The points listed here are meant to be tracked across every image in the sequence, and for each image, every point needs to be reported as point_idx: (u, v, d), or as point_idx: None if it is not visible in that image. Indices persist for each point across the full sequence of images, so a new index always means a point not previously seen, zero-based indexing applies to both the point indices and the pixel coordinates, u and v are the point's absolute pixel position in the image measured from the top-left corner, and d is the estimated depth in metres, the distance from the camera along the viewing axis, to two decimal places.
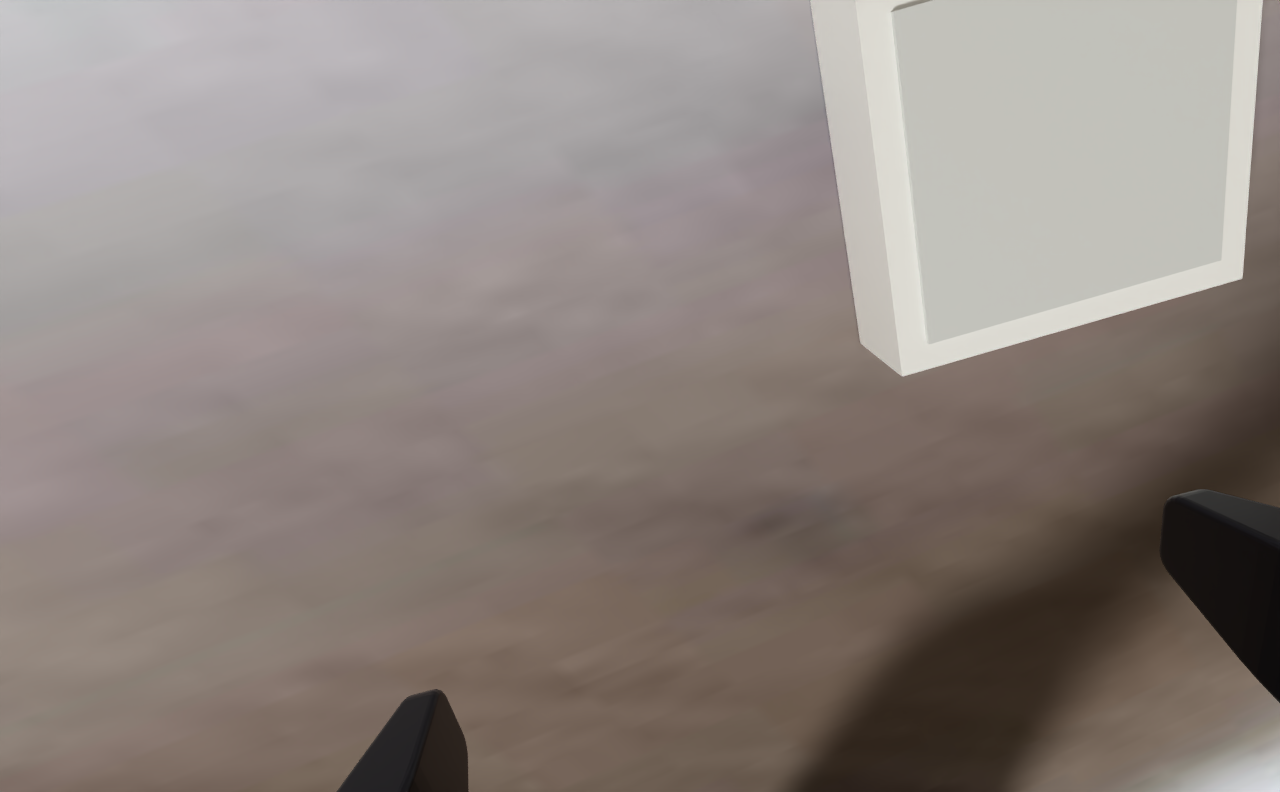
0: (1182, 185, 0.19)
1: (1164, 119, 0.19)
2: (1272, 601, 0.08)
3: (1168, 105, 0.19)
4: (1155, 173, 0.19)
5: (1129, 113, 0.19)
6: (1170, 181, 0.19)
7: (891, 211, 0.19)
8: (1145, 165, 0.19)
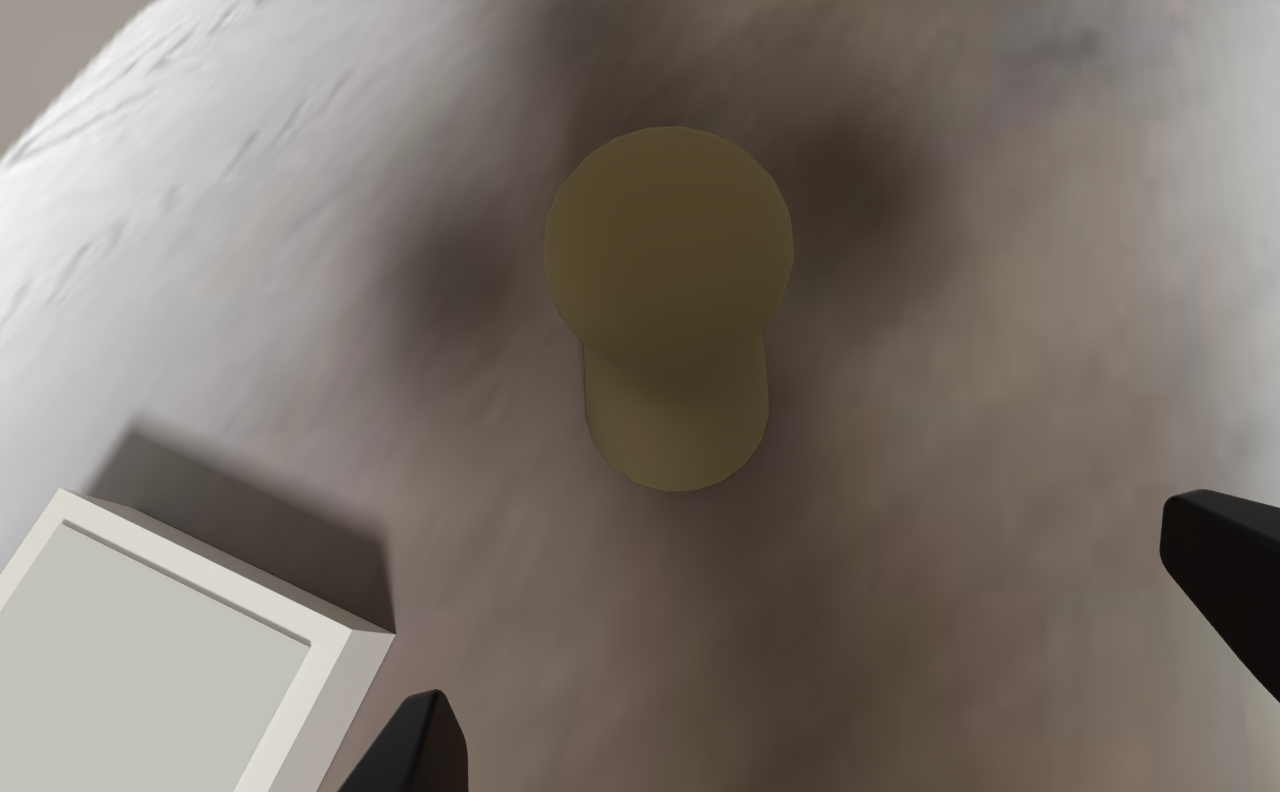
0: (207, 653, 0.19)
1: (140, 645, 0.19)
2: (1272, 601, 0.08)
3: (139, 632, 0.20)
4: (174, 673, 0.19)
5: (106, 673, 0.19)
6: (193, 663, 0.19)
7: None
8: (159, 679, 0.19)
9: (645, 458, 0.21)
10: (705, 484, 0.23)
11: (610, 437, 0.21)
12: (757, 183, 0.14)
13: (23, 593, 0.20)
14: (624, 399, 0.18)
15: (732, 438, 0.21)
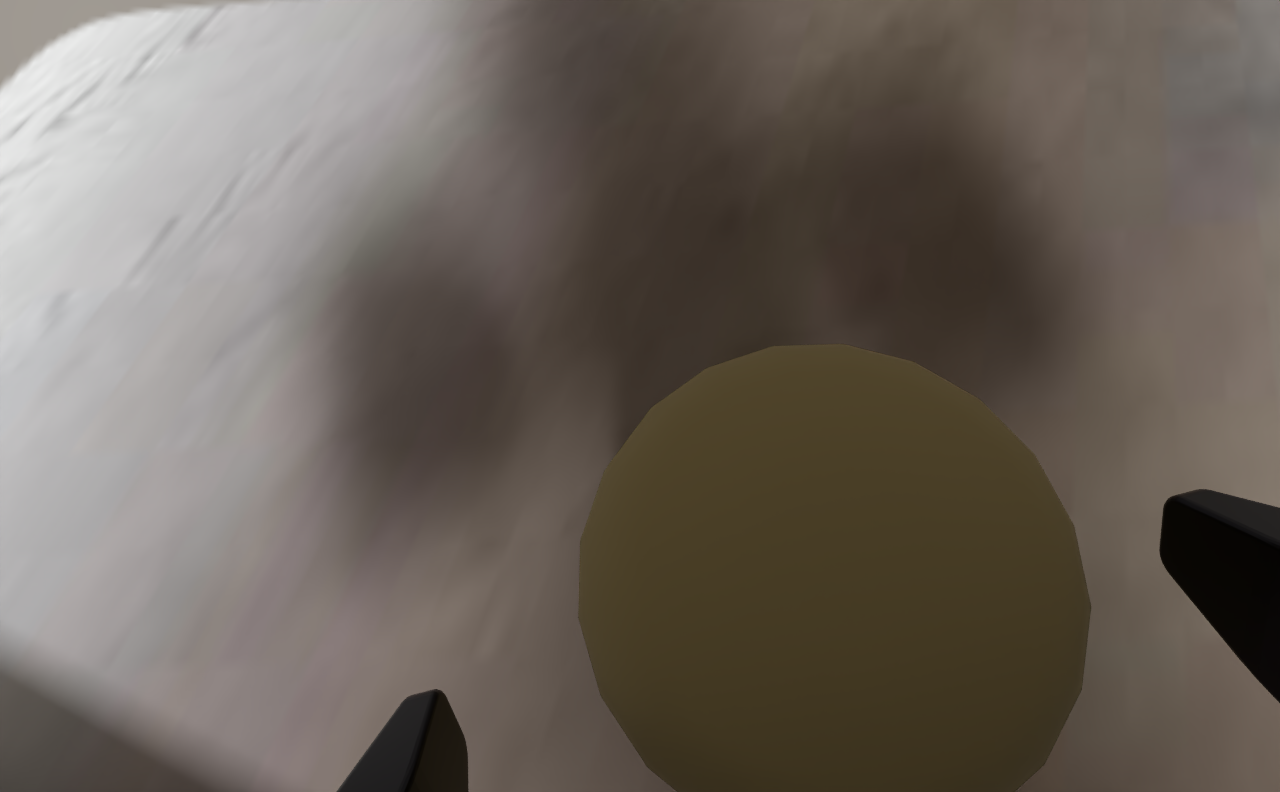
0: None
1: None
2: (1272, 601, 0.08)
3: None
4: None
5: None
6: None
7: None
8: None
9: None
10: None
11: None
12: (1030, 494, 0.07)
13: None
14: None
15: None
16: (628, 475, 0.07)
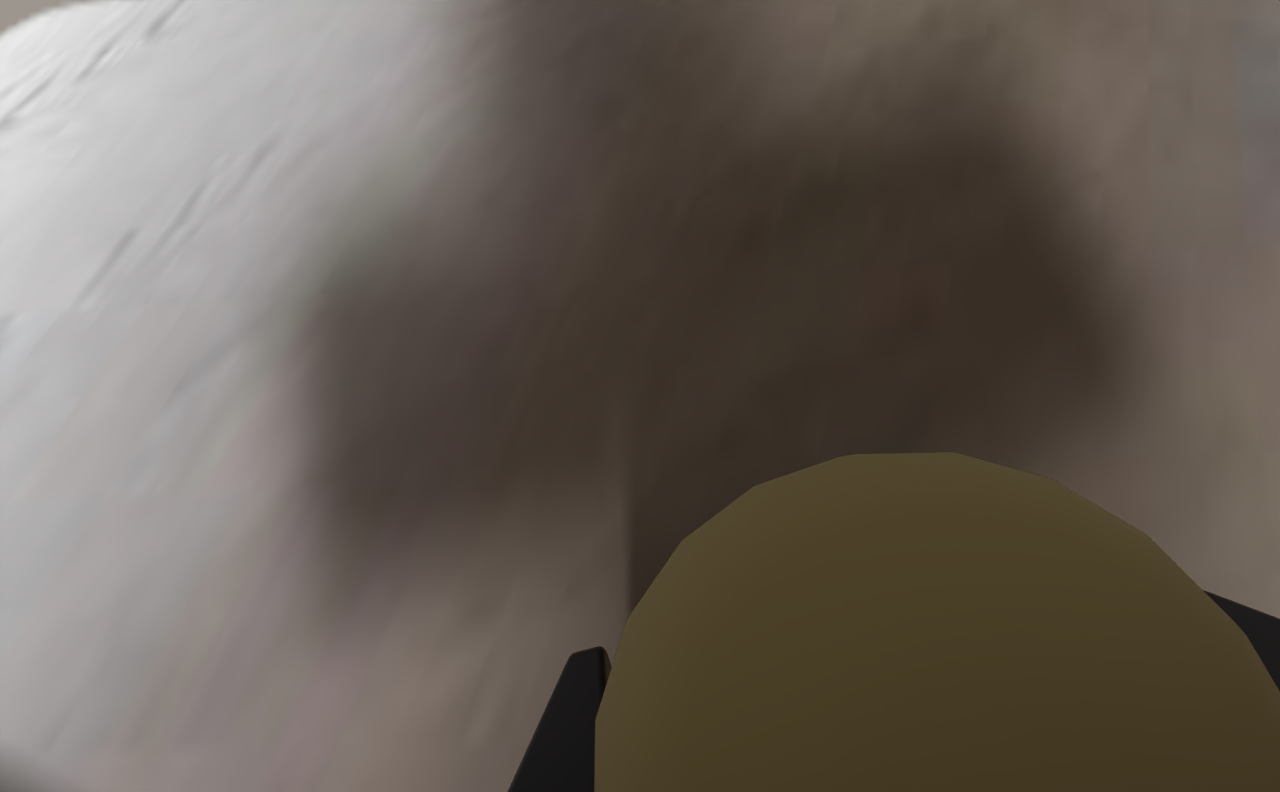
0: None
1: None
2: None
3: None
4: None
5: None
6: None
7: None
8: None
9: None
10: None
11: None
12: (1257, 706, 0.05)
13: None
14: None
15: None
16: (665, 657, 0.05)
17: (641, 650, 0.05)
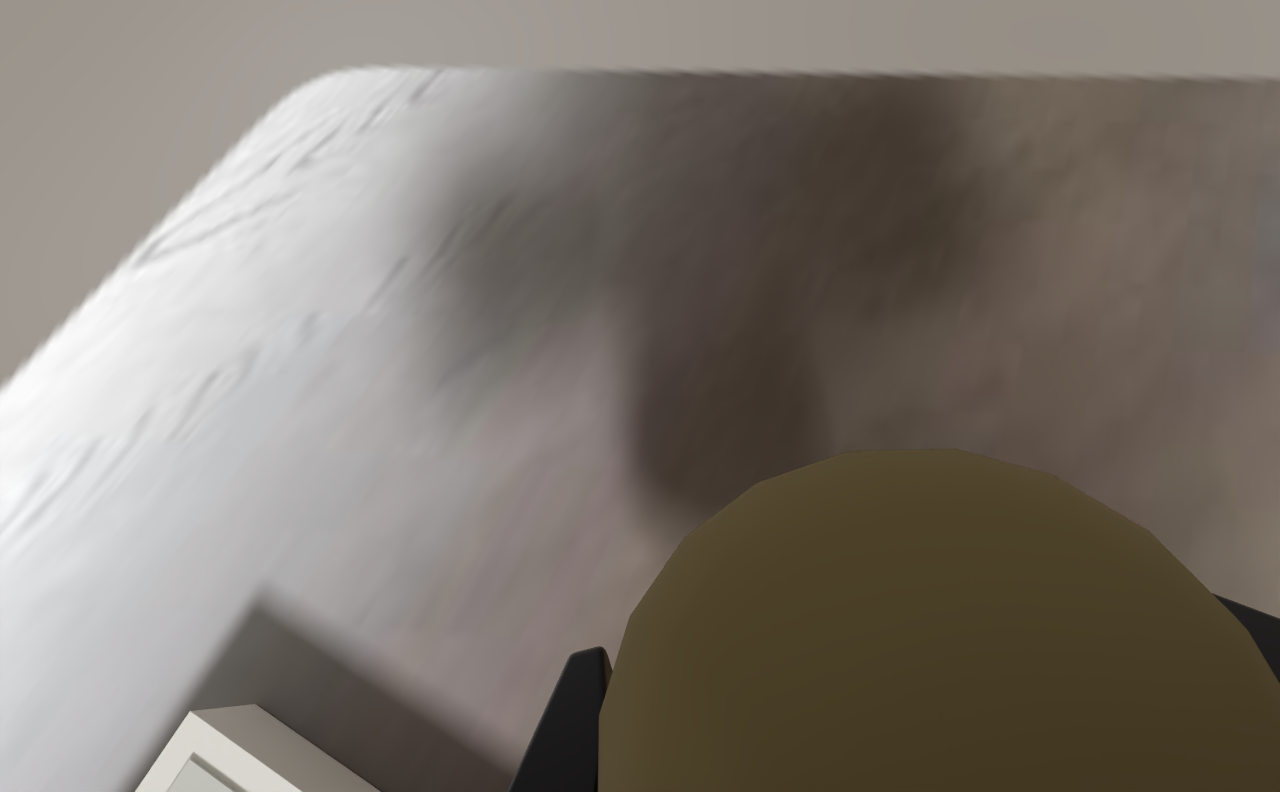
0: None
1: None
2: None
3: None
4: None
5: None
6: None
7: None
8: None
9: None
10: None
11: None
12: (1259, 700, 0.05)
13: None
14: None
15: None
16: (669, 652, 0.05)
17: (644, 645, 0.05)
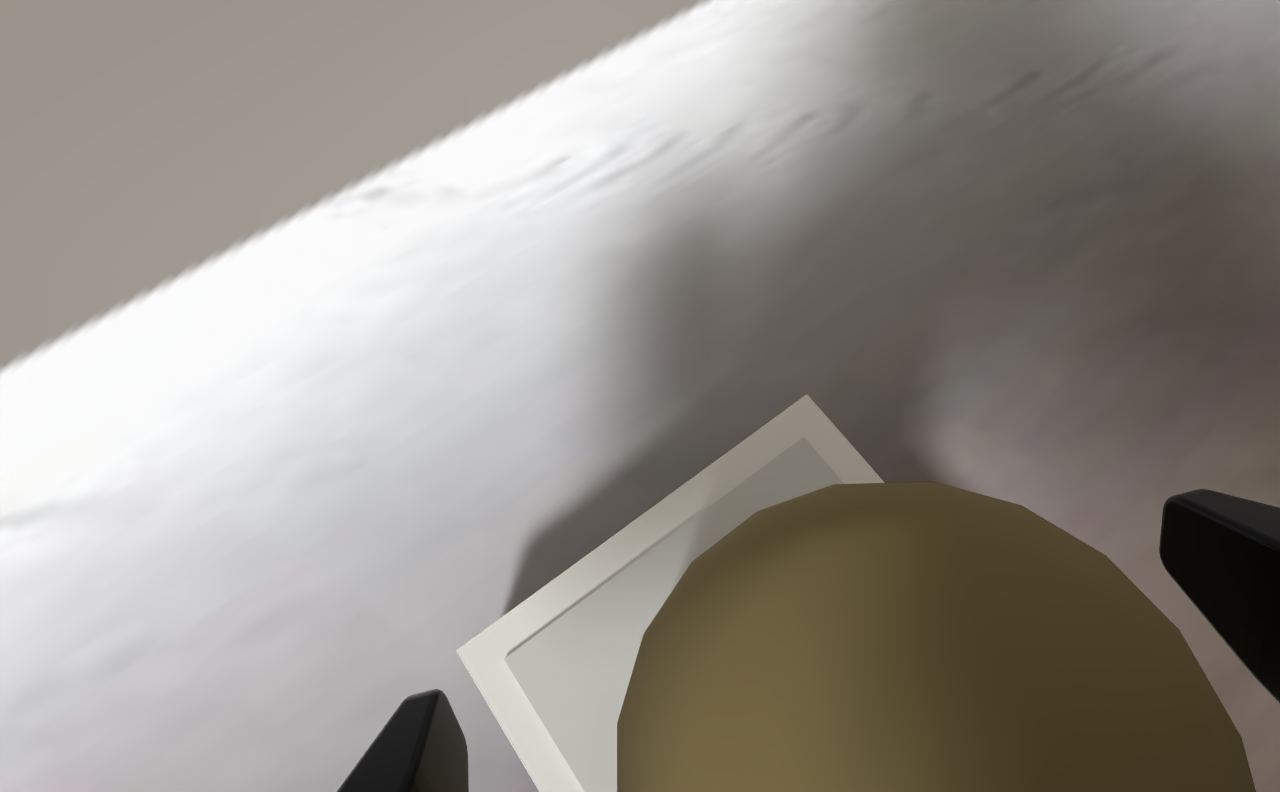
0: None
1: None
2: (1272, 601, 0.08)
3: None
4: None
5: None
6: None
7: None
8: None
9: None
10: None
11: None
12: (1195, 706, 0.05)
13: (745, 495, 0.17)
14: None
15: None
16: (681, 668, 0.06)
17: (659, 661, 0.06)
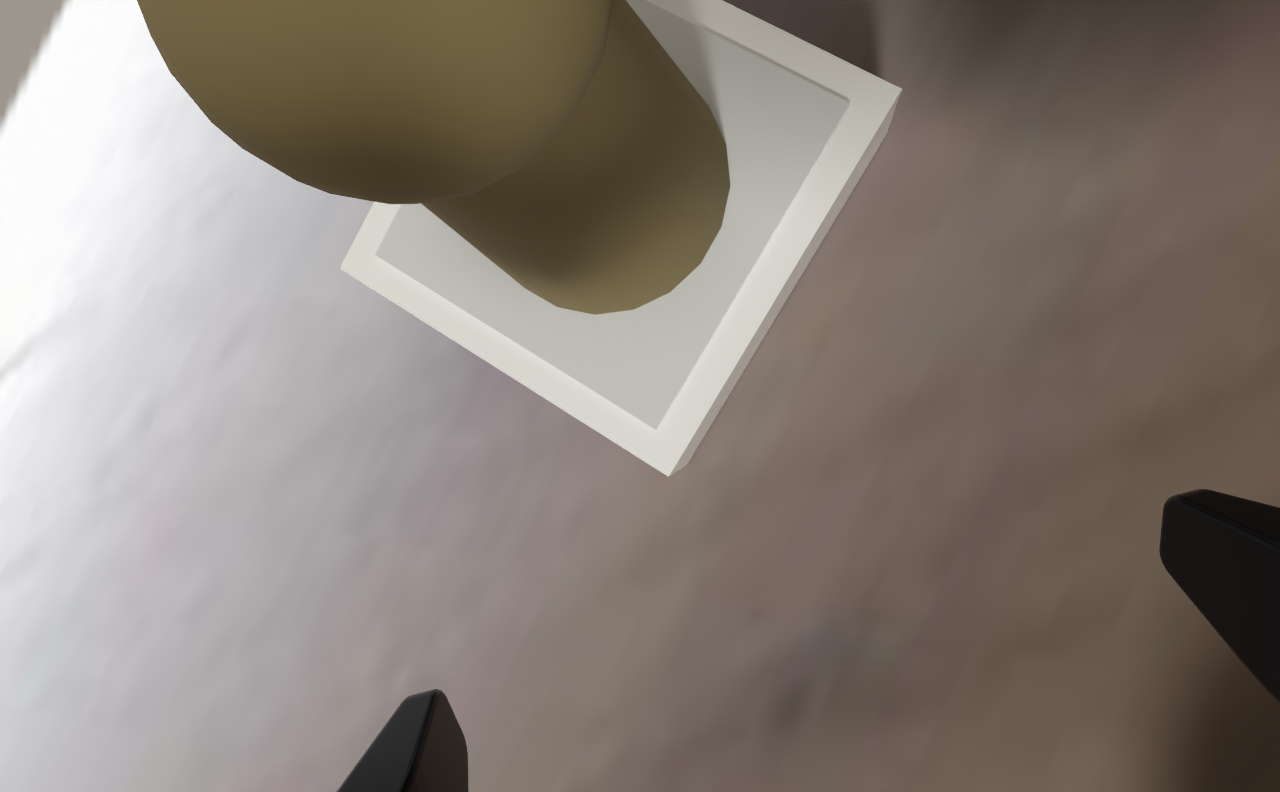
0: (727, 104, 0.17)
1: None
2: (1272, 601, 0.08)
3: None
4: None
5: None
6: None
7: (513, 366, 0.18)
8: None
9: (581, 286, 0.15)
10: (680, 278, 0.17)
11: (525, 280, 0.15)
12: None
13: None
14: (490, 233, 0.12)
15: (680, 208, 0.14)
16: None
17: None
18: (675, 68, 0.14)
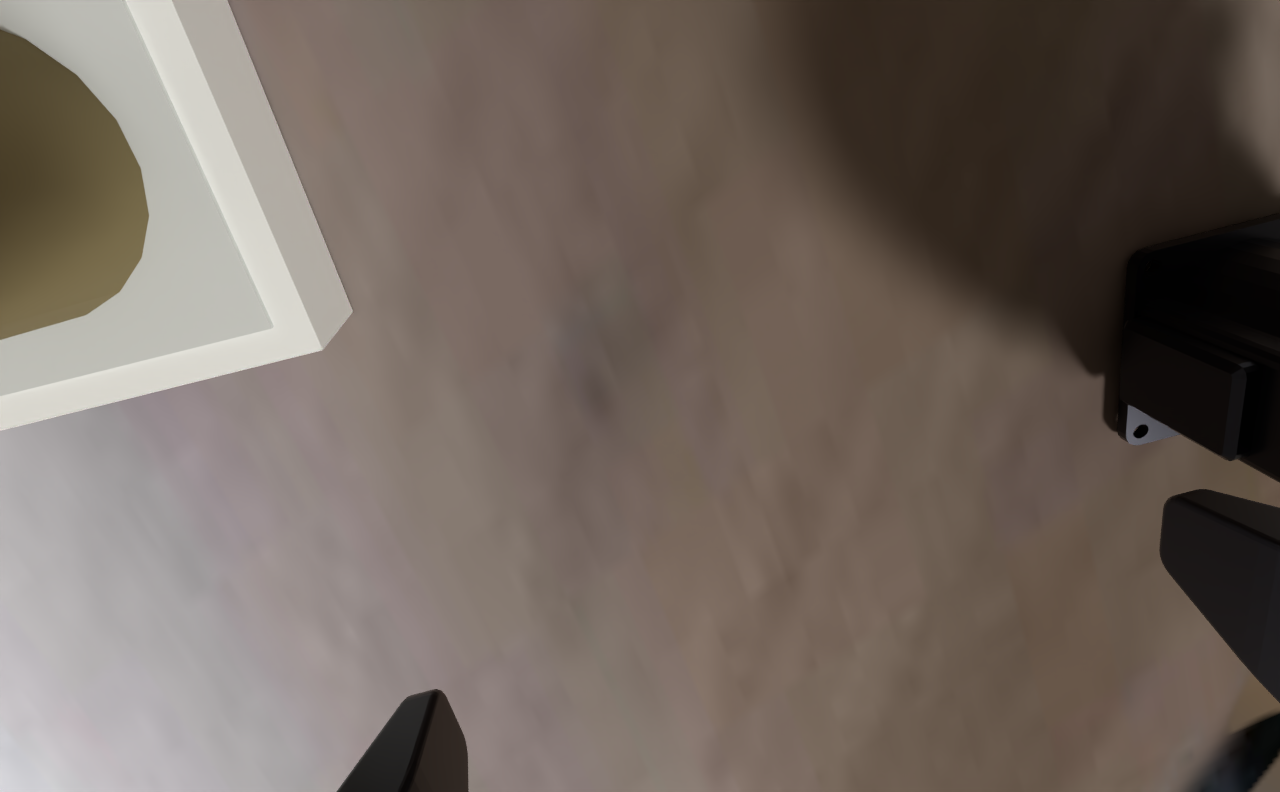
0: None
1: None
2: (1272, 601, 0.08)
3: None
4: None
5: None
6: None
7: (118, 389, 0.17)
8: None
9: (50, 299, 0.14)
10: (138, 197, 0.15)
11: (1, 339, 0.14)
12: None
13: None
14: None
15: (26, 161, 0.12)
16: None
17: None
18: None
